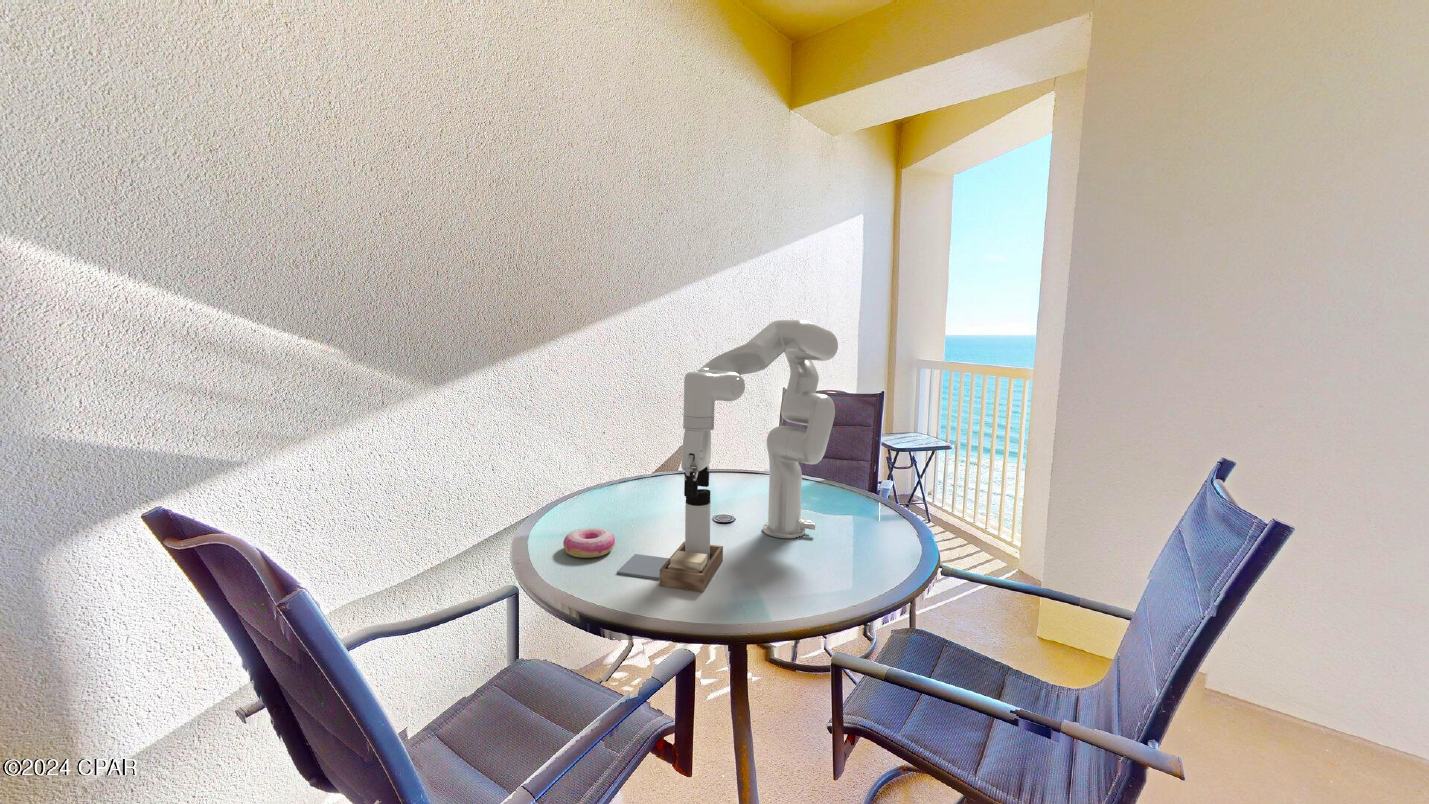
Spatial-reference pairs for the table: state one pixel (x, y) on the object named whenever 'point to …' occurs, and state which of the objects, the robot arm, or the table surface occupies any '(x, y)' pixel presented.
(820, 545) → the table surface
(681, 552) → the maple offcut stack
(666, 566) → the wooden tray
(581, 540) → the donut
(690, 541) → the travel mug
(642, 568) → the slate mat
